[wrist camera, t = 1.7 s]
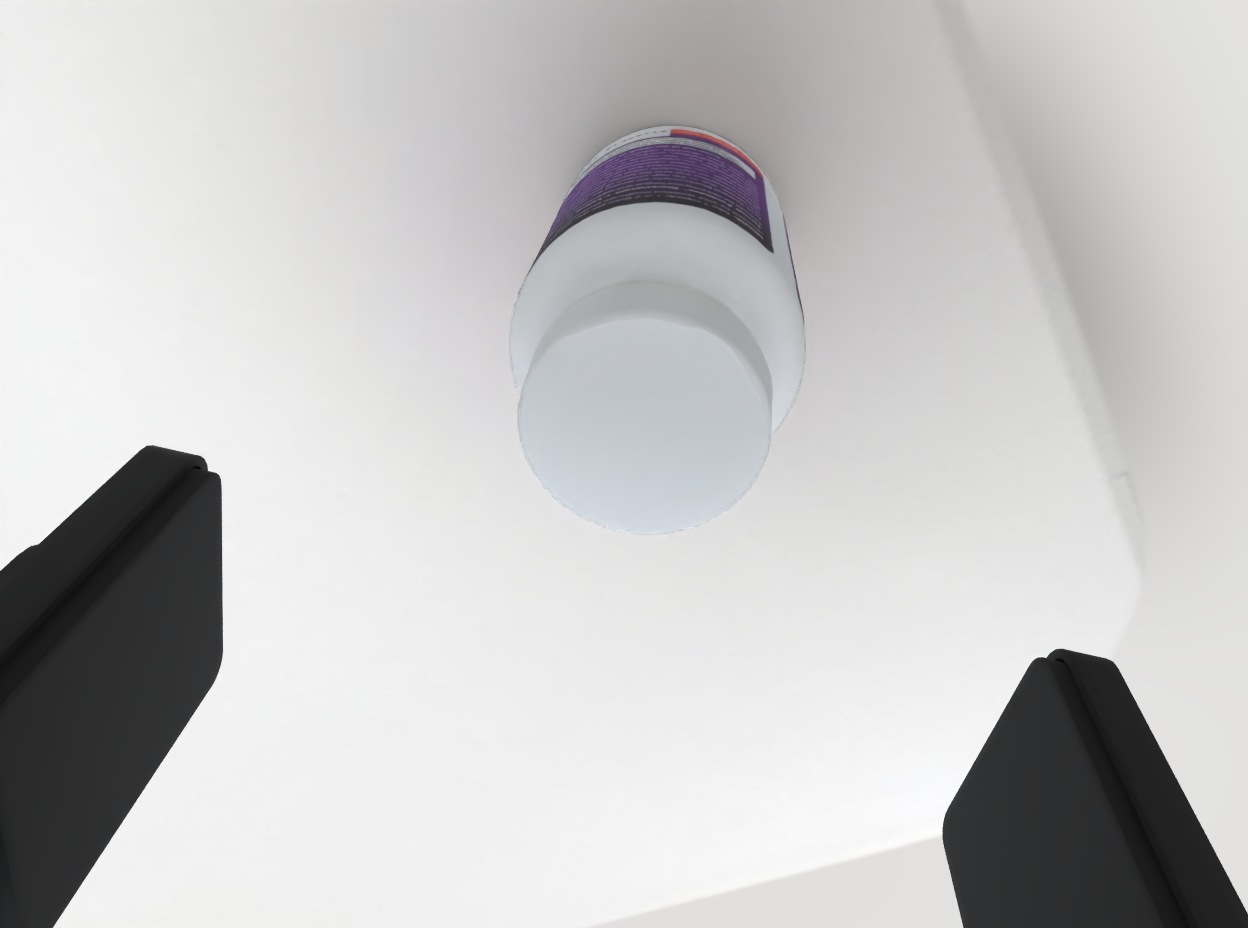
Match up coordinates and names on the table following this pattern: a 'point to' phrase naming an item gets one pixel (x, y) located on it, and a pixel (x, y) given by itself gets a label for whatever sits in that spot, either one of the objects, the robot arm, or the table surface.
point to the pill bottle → (658, 334)
